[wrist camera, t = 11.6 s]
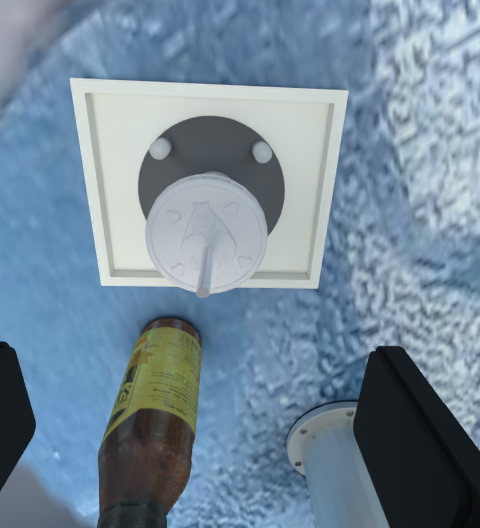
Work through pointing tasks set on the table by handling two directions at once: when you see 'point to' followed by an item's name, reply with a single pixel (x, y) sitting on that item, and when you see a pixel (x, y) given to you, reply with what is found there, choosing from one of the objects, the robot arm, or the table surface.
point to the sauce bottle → (151, 428)
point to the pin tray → (209, 166)
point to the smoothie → (206, 233)
